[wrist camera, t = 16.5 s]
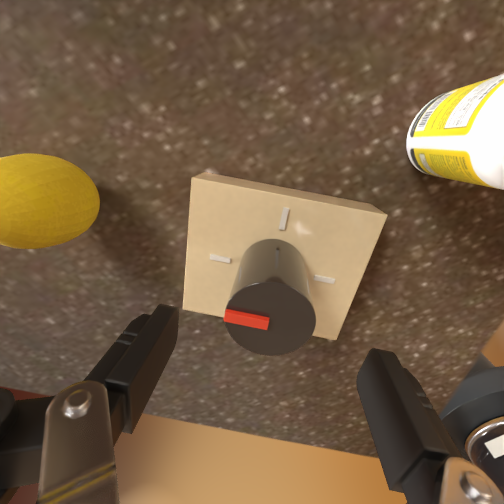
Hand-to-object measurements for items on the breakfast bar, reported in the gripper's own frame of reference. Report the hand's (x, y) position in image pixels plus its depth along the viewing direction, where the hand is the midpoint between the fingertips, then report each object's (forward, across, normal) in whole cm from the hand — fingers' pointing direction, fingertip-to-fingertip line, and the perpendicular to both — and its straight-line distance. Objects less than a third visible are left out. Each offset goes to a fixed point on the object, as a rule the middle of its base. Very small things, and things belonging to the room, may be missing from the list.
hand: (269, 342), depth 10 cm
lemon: (+10, +15, -2) cm, 18 cm away
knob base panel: (+10, 0, 0) cm, 10 cm away
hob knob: (+7, 0, 0) cm, 7 cm away
